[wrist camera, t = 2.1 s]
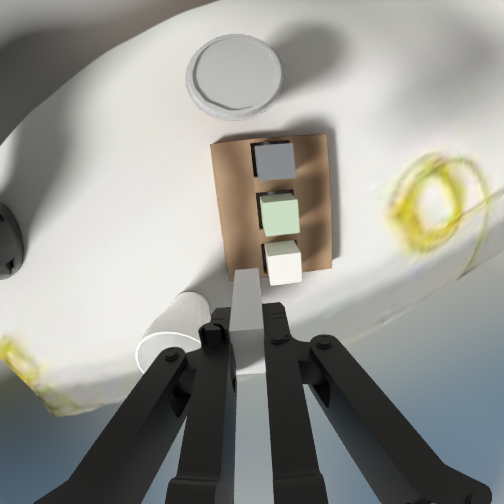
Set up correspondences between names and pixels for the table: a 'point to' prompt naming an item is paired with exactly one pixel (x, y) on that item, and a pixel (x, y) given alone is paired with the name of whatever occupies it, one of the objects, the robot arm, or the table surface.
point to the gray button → (275, 161)
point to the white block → (283, 262)
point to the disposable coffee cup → (235, 77)
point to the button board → (247, 185)
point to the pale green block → (279, 214)
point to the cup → (174, 328)
